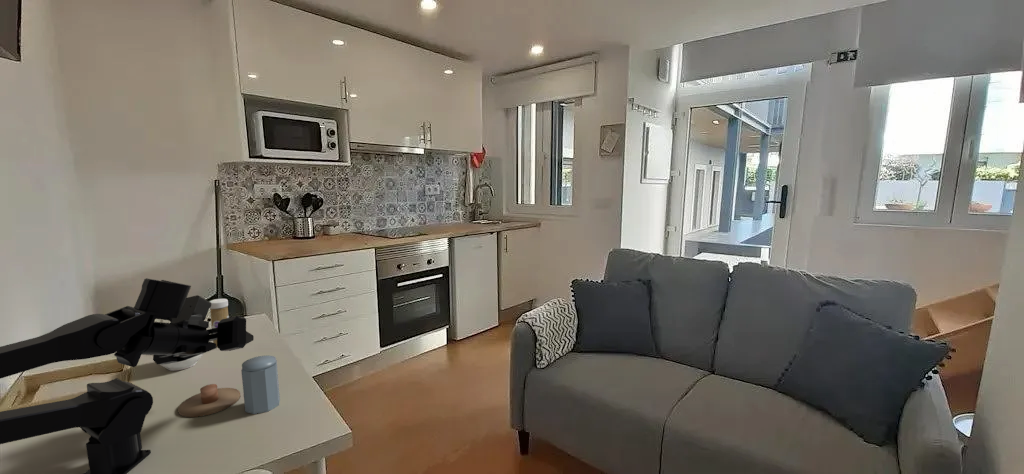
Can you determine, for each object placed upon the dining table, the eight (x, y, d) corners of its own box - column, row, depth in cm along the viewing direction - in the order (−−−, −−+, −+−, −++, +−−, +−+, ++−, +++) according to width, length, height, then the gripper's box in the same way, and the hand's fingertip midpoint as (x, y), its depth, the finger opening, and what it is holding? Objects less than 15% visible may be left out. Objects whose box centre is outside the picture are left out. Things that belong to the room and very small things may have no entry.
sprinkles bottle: (212, 348, 120) (207, 303, 118) (214, 343, 124) (209, 299, 122) (231, 345, 122) (226, 301, 121) (232, 340, 126) (228, 297, 125)
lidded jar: (179, 377, 103) (175, 340, 102) (144, 373, 105) (139, 337, 104) (217, 358, 114) (214, 325, 112) (185, 355, 116) (181, 322, 114)
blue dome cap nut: (278, 409, 89) (274, 364, 87) (243, 416, 86) (239, 370, 85) (280, 395, 94) (277, 353, 93) (248, 401, 92) (244, 358, 90)
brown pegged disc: (221, 415, 86) (219, 399, 86) (164, 418, 85) (162, 401, 85) (250, 389, 97) (248, 374, 96) (200, 391, 96) (198, 376, 96)
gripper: (212, 285, 78) (272, 297, 93) (126, 305, 80) (198, 314, 95) (209, 346, 75) (272, 348, 89) (120, 365, 77) (195, 364, 92)
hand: (234, 342), depth 91 cm, fingers open, 9 cm apart
